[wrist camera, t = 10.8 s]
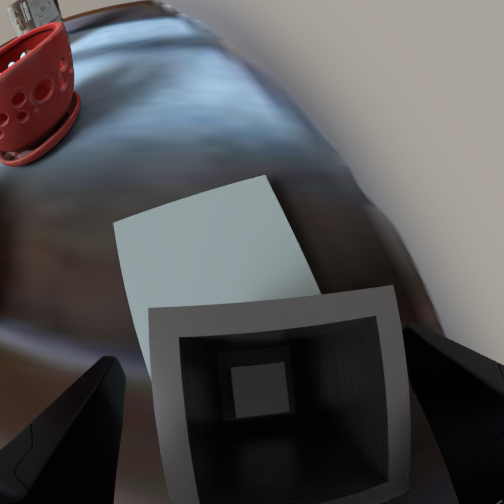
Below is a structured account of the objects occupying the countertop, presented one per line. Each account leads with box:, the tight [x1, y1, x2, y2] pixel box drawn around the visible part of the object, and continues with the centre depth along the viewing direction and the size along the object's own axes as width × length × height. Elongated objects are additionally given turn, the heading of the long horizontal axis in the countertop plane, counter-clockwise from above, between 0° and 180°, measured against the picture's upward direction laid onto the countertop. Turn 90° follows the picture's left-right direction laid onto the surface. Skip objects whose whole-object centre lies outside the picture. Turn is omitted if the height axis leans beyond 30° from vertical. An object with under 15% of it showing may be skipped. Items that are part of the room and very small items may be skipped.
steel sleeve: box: [148, 285, 411, 504], centre depth 9 cm, size 5×5×10 cm
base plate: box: [113, 175, 322, 421], centre depth 15 cm, size 16×11×4 cm
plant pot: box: [0, 22, 81, 167], centre depth 17 cm, size 13×13×12 cm
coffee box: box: [7, 0, 70, 54], centre depth 25 cm, size 9×6×16 cm
